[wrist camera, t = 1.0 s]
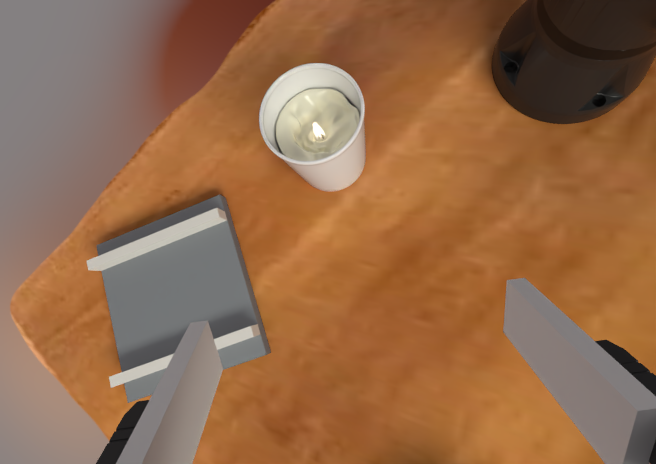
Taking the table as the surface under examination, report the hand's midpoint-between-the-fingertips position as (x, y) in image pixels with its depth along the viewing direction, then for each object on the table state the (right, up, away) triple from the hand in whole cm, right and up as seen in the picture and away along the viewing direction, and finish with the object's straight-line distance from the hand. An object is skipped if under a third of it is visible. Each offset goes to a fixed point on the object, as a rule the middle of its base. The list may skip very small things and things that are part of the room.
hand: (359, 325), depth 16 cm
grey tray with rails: (-20, -4, +29) cm, 35 cm away
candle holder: (-1, +13, +28) cm, 31 cm away
